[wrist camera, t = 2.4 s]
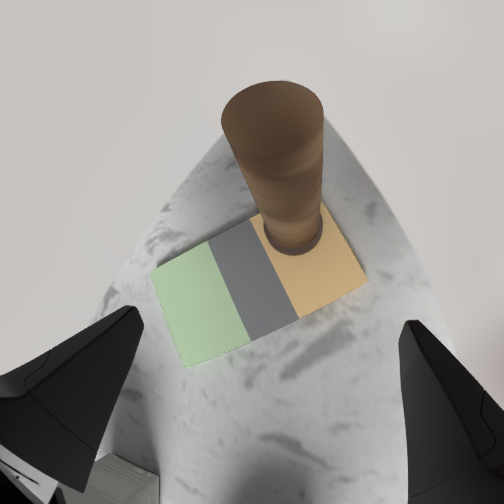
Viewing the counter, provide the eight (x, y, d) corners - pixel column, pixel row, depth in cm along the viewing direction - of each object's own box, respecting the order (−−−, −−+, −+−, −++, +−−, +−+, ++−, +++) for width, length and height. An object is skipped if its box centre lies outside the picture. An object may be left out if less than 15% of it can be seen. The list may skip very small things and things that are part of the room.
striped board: (312, 193, 24) (312, 186, 22) (365, 283, 21) (368, 280, 20) (156, 274, 25) (149, 271, 23) (191, 366, 22) (185, 368, 20)
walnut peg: (300, 192, 23) (284, 65, 10) (333, 234, 21) (356, 120, 9) (254, 222, 23) (196, 111, 10) (285, 267, 21) (252, 181, 9)
